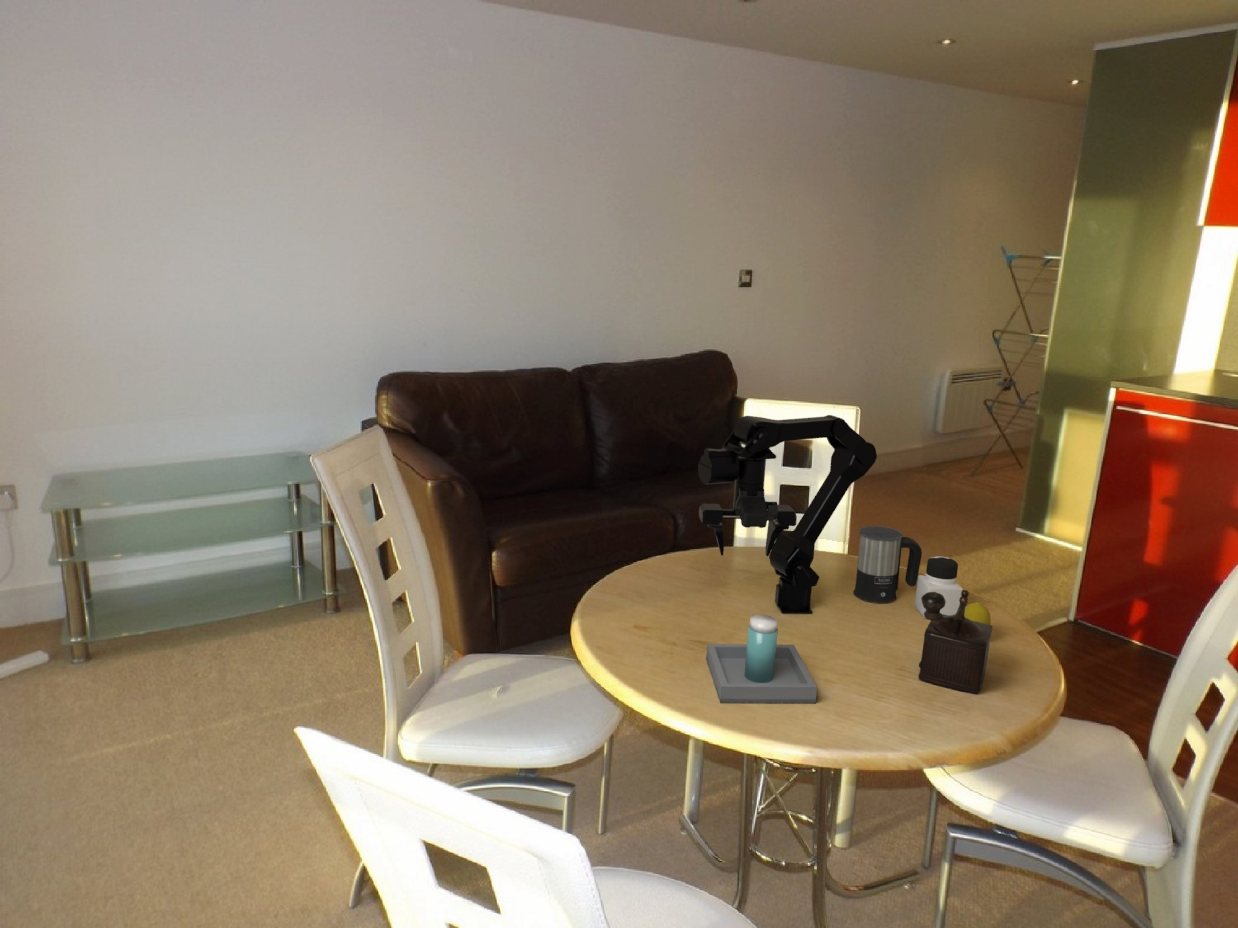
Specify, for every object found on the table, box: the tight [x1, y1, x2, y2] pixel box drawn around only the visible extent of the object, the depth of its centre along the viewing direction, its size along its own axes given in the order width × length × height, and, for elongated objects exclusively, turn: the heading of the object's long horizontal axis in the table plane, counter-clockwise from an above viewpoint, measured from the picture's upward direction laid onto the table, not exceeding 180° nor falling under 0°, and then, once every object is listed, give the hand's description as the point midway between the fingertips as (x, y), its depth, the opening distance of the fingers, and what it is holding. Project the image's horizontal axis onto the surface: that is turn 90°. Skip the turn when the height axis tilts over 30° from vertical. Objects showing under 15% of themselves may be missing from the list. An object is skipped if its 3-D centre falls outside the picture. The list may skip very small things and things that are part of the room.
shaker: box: [744, 614, 779, 683], centre depth 153 cm, size 5×5×10 cm
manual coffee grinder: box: [918, 589, 994, 696], centre depth 155 cm, size 16×11×18 cm
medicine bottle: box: [914, 556, 964, 620], centre depth 185 cm, size 7×7×12 cm
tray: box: [705, 643, 818, 705], centre depth 154 cm, size 16×16×3 cm
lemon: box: [964, 601, 992, 625], centre depth 173 cm, size 6×6×8 cm
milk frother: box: [852, 525, 923, 604], centre depth 197 cm, size 14×16×15 cm
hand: (744, 555), depth 179 cm, fingers open, 9 cm apart
